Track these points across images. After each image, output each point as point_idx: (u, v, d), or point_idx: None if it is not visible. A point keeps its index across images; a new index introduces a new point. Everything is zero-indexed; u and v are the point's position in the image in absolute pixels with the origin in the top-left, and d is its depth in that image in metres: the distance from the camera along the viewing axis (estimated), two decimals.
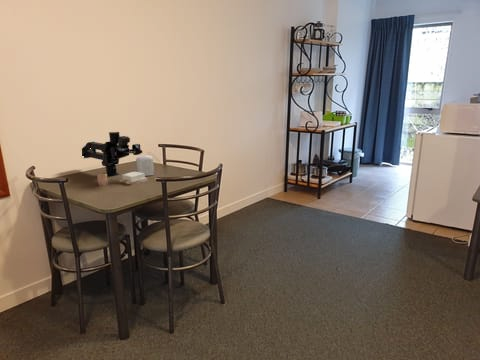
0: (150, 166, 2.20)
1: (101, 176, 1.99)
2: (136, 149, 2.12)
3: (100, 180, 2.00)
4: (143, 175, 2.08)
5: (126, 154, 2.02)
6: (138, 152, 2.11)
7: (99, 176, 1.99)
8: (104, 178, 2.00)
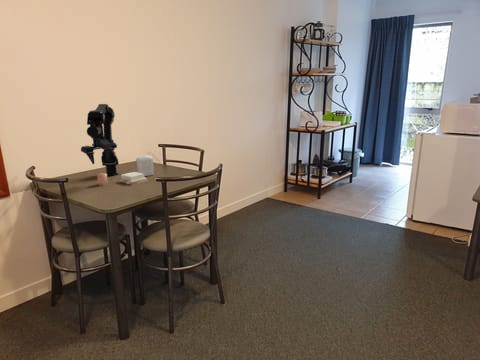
0: (150, 166, 2.20)
1: (101, 176, 1.99)
2: (108, 151, 2.02)
3: (100, 180, 2.00)
4: (142, 175, 2.08)
5: (91, 161, 1.95)
6: (106, 154, 2.03)
7: (99, 176, 1.99)
8: (104, 178, 2.00)
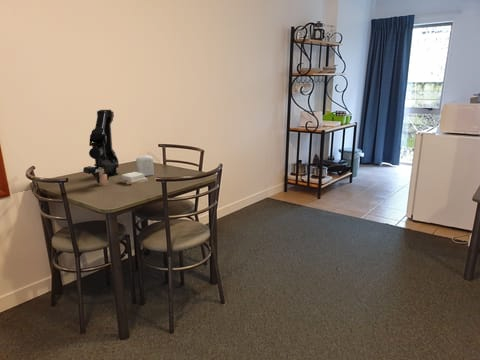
0: (150, 166, 2.20)
1: (101, 176, 1.99)
2: (107, 171, 2.03)
3: (100, 180, 2.00)
4: (143, 176, 2.07)
5: (97, 181, 2.00)
6: None
7: (99, 176, 1.99)
8: (104, 178, 2.00)
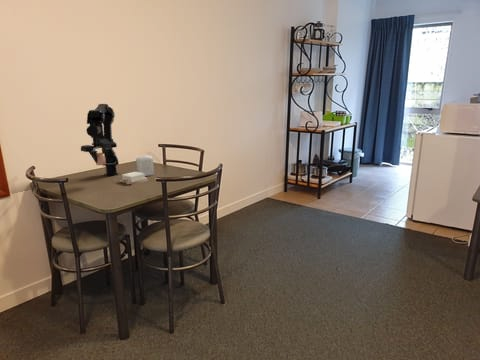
0: (150, 166, 2.20)
1: (99, 155, 1.96)
2: (105, 151, 2.00)
3: (98, 159, 1.97)
4: (143, 175, 2.08)
5: (94, 160, 1.97)
6: None
7: (97, 155, 1.96)
8: (102, 157, 1.97)
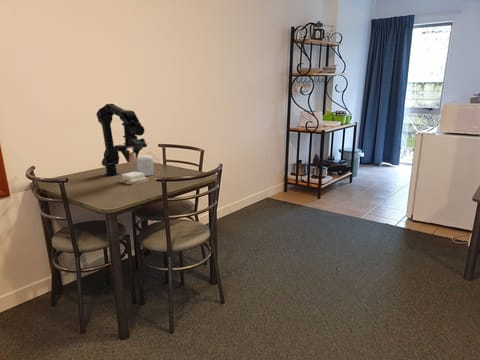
0: (150, 166, 2.20)
1: (131, 155, 2.02)
2: (136, 151, 2.06)
3: (130, 159, 2.03)
4: (143, 175, 2.08)
5: (126, 159, 2.03)
6: None
7: (129, 155, 2.02)
8: (133, 157, 2.03)
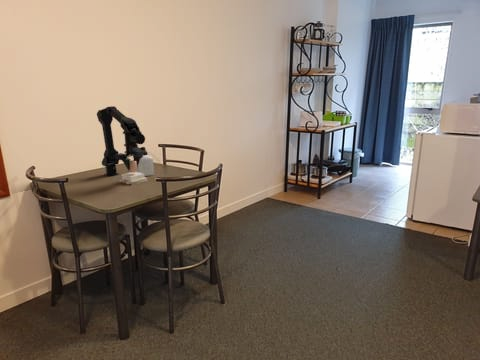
0: (150, 166, 2.20)
1: (131, 163, 2.03)
2: (137, 159, 2.07)
3: (130, 167, 2.04)
4: (143, 175, 2.08)
5: (127, 167, 2.04)
6: None
7: (129, 163, 2.03)
8: (134, 165, 2.04)
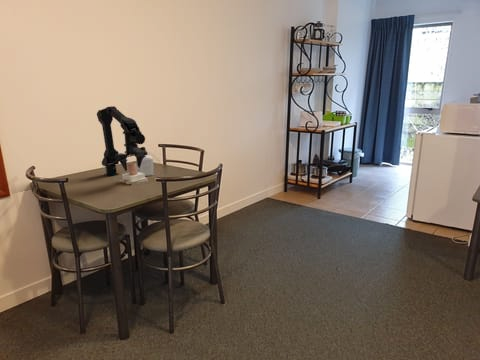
0: (150, 166, 2.20)
1: (132, 165, 2.04)
2: (139, 158, 2.09)
3: (131, 169, 2.05)
4: (143, 175, 2.08)
5: (124, 168, 2.02)
6: (137, 161, 2.10)
7: (130, 165, 2.04)
8: (134, 167, 2.05)
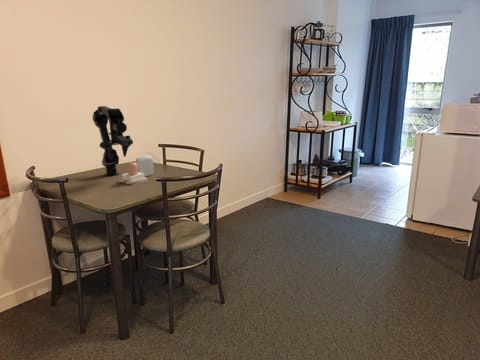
0: (150, 166, 2.20)
1: (135, 166, 2.03)
2: (125, 147, 2.11)
3: (134, 170, 2.04)
4: (143, 175, 2.08)
5: (109, 156, 2.05)
6: (123, 150, 2.13)
7: (133, 166, 2.03)
8: None
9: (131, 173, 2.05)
